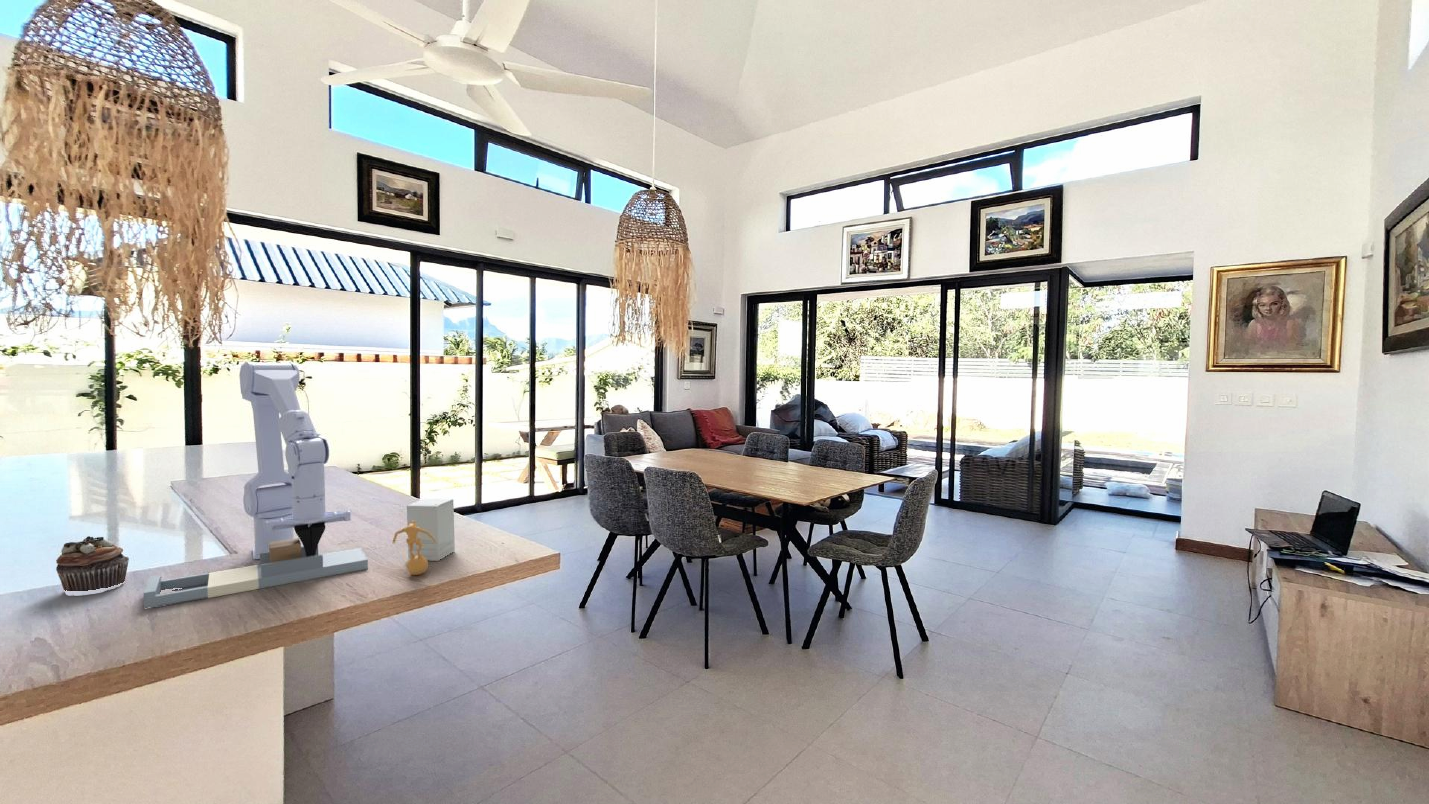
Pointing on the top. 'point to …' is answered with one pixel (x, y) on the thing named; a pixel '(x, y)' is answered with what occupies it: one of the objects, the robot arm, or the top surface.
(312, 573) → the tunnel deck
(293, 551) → the block
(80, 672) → the top surface
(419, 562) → the figurine
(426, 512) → the supplement box
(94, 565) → the cupcake
